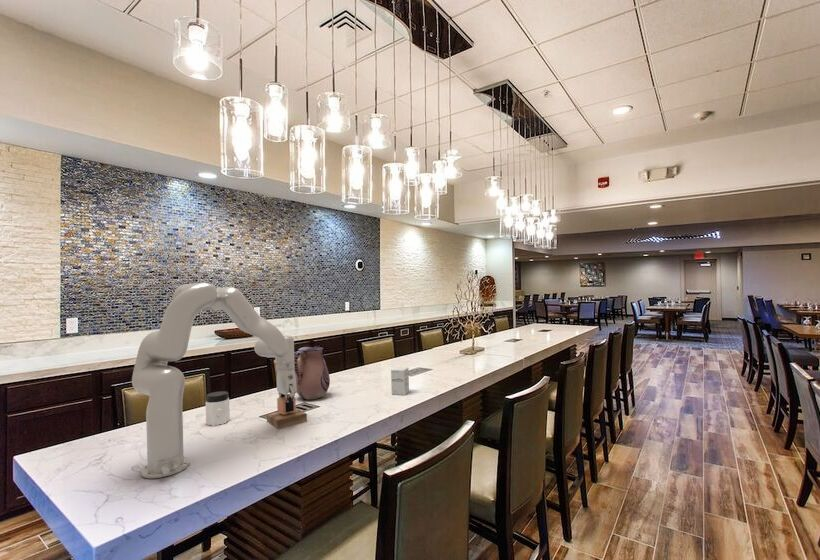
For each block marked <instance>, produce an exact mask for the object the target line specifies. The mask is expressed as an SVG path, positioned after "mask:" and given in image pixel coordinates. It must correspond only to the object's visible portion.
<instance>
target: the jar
mask: <svg viewBox="0 0 820 560" xmlns="http://www.w3.org/2000/svg"><path fill="white" fill-rule="evenodd" d="M230 417H231V415H230V398H229V392H228V391H224V390H223V391H222V390H220V391H214V392H210V393H207V394H206V401H205V425H206V426H210V425H212V426H211V427H215V426H214V425H216V426H220V425H219V424H221V425H225V424H227V423H228V422H229V421H230V419H231V418H230ZM227 421H228V422H227ZM226 422H227V423H226ZM224 423H225V424H224Z"/></svg>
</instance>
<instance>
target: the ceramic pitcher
mask: <svg viewBox="0 0 820 560" xmlns="http://www.w3.org/2000/svg"><path fill="white" fill-rule="evenodd" d="M323 350H324V347H321V346H312V347H311V346H303V347H300V348H298V350H297V351H296V352H294V361H295V369H294V371H295V376H296V386H297V392H296V394H297V395H298V396H299V397H300V398H301V399H303V400H307V401H308V400H310V401H312V400H317V399H321V398H322V397H323V396H325V395H326V393H327V392H328V391H329V387H330V384H331V383H330V382H331V379H330V374H329V369H328V367H327V364H326V361H325V358H324V356H323ZM298 360H299V362H298Z"/></svg>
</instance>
